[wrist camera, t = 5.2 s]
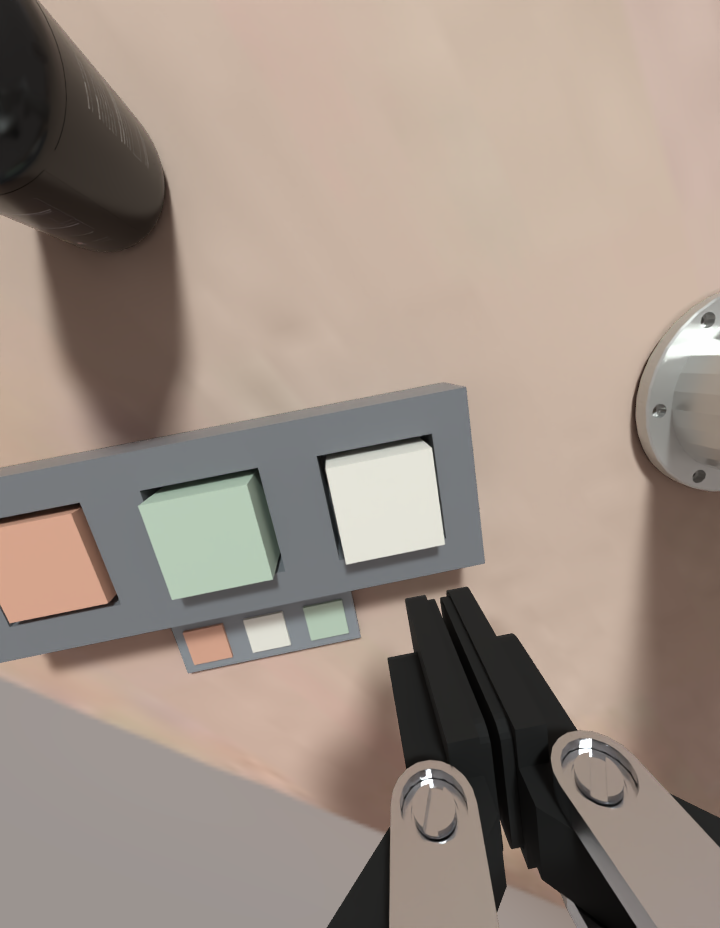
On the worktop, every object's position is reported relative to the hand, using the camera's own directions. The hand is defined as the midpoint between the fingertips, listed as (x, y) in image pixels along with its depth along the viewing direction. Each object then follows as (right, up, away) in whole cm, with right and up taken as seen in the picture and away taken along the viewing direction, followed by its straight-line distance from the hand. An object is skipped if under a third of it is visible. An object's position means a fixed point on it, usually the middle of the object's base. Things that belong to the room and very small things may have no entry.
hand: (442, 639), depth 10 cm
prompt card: (-8, -6, +16) cm, 20 cm away
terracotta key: (-19, 0, +12) cm, 23 cm away
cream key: (-1, +3, +12) cm, 13 cm away
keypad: (-10, +2, +14) cm, 17 cm away
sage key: (-10, +1, +12) cm, 15 cm away
